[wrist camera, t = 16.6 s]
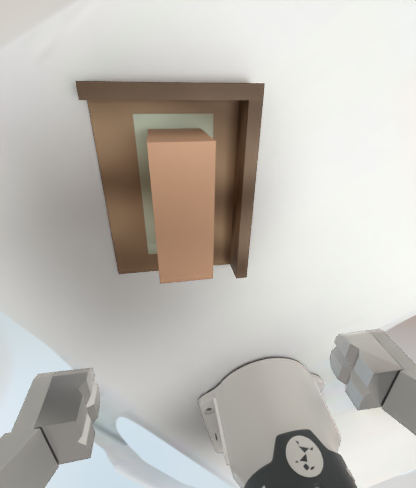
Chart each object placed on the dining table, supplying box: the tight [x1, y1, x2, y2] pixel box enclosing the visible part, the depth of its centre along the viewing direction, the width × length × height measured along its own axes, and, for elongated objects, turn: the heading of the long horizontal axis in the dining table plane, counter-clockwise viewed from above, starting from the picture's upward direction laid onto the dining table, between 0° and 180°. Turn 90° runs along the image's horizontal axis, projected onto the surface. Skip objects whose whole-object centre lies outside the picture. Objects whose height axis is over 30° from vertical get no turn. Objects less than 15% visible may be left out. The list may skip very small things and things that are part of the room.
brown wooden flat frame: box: [76, 81, 264, 278], centre depth 23 cm, size 16×12×3 cm
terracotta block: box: [147, 128, 216, 284], centre depth 21 cm, size 4×10×6 cm, turn 0°
